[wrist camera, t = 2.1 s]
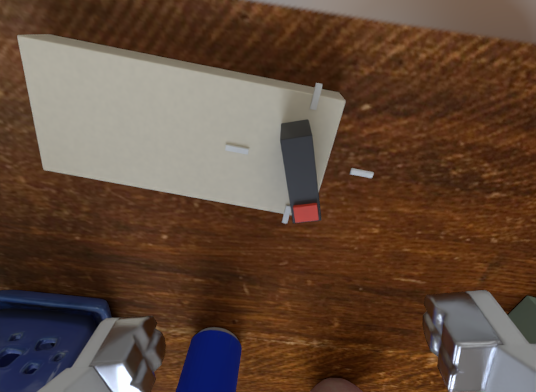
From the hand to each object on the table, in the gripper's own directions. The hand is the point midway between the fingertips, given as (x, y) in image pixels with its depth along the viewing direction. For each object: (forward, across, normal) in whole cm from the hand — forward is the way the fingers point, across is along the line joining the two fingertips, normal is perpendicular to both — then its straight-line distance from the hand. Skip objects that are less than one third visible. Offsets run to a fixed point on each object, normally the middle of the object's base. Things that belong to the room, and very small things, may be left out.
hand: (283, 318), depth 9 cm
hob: (+14, +5, -2) cm, 15 cm away
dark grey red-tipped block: (+11, -1, 0) cm, 11 cm away
